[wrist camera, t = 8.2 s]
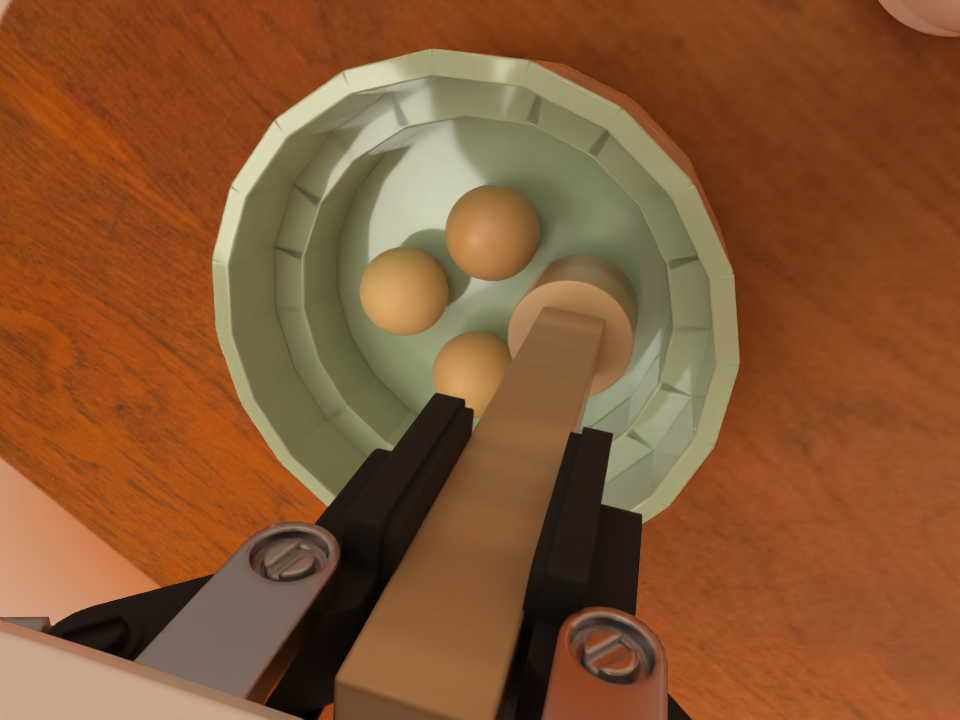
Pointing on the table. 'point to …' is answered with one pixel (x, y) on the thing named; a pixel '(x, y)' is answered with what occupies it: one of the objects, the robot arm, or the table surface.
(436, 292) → the potato
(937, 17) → the drinking glass
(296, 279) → the bowl
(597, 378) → the stirrer
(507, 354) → the potato
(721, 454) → the table surface
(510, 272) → the potato
